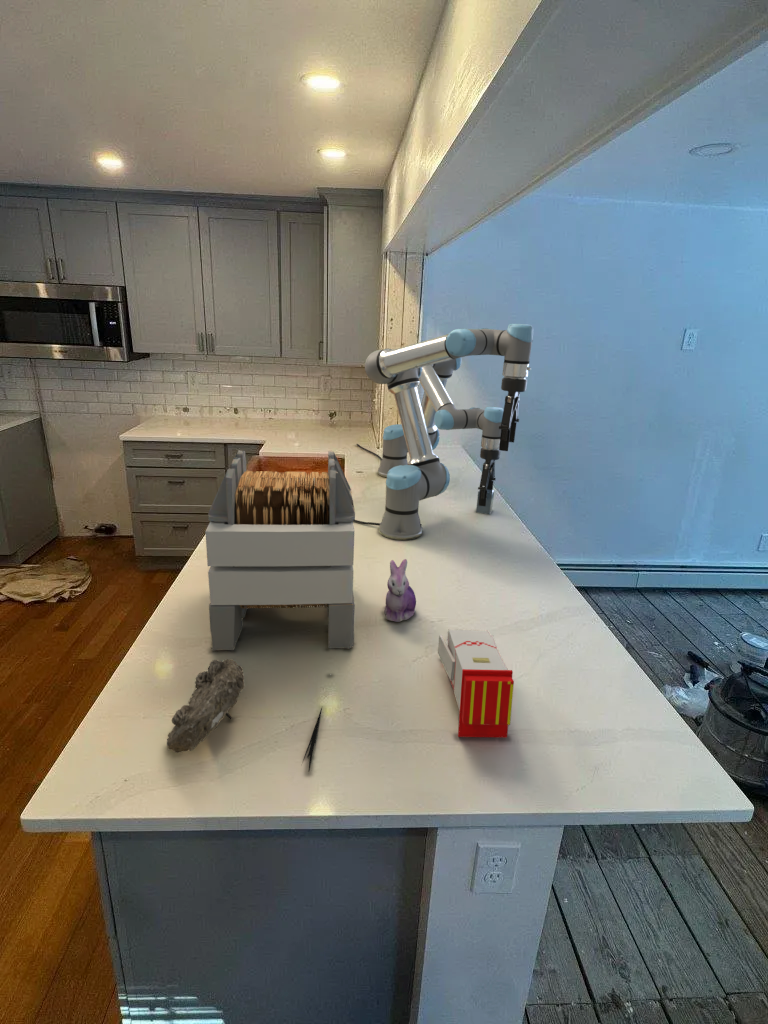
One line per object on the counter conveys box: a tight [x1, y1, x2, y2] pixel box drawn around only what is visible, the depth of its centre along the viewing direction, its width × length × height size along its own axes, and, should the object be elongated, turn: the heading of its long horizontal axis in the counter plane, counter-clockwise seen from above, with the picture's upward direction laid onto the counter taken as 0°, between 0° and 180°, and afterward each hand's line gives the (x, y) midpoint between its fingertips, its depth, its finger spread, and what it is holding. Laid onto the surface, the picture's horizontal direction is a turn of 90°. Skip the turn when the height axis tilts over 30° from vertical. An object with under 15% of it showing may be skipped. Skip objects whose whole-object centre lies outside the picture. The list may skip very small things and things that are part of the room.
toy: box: [437, 628, 515, 738], centre depth 117 cm, size 12×13×30 cm
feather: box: [301, 673, 332, 771], centre depth 108 cm, size 2×28×2 cm
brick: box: [475, 489, 495, 515], centre depth 225 cm, size 5×6×9 cm
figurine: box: [384, 558, 417, 623], centre depth 145 cm, size 9×10×15 cm
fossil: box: [166, 658, 245, 754], centre depth 106 cm, size 22×10×15 cm
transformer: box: [204, 449, 356, 652], centre depth 138 cm, size 34×33×41 cm
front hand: (506, 446), depth 179 cm, fingers open, 13 cm apart
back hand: (485, 500), depth 225 cm, fingers open, 13 cm apart
